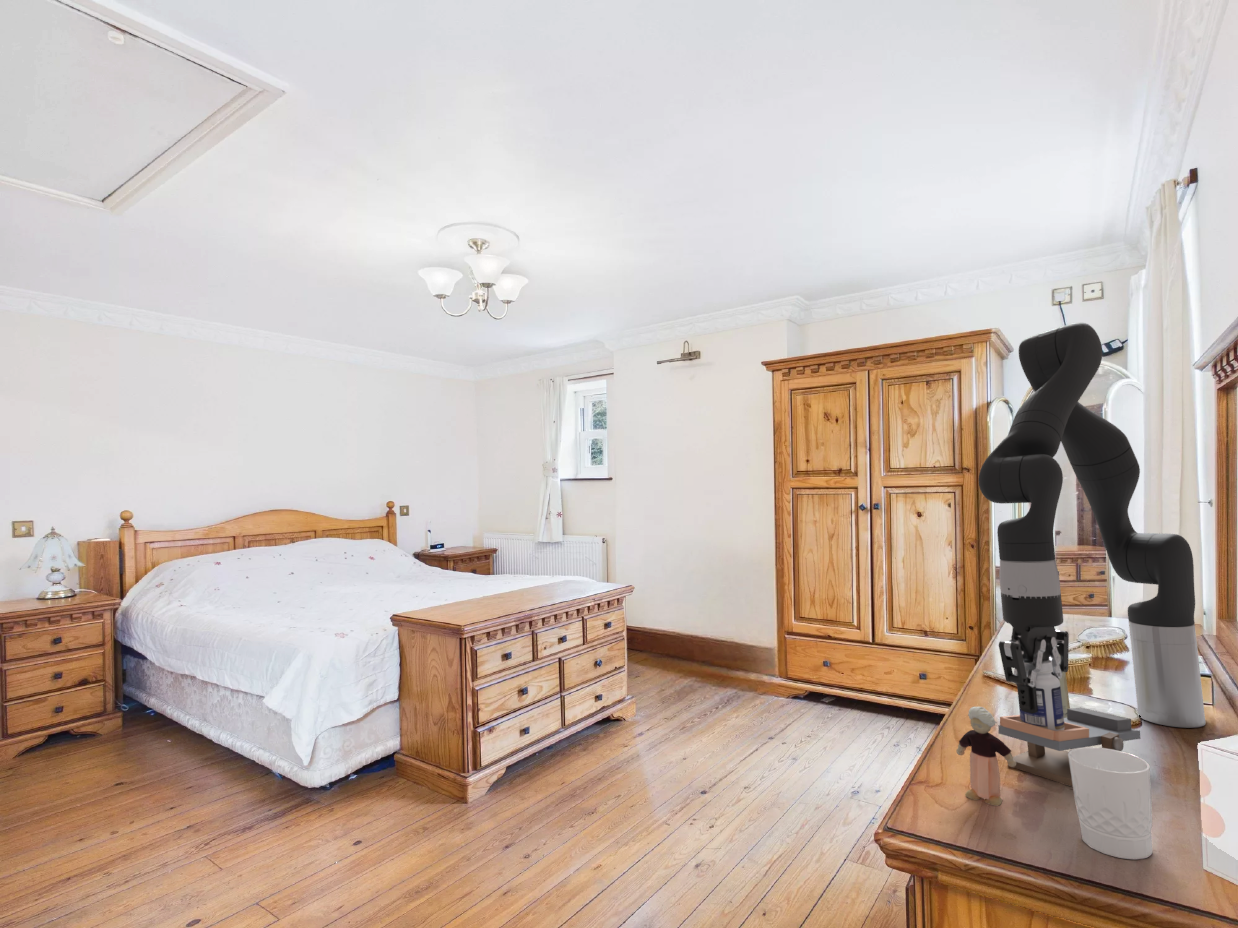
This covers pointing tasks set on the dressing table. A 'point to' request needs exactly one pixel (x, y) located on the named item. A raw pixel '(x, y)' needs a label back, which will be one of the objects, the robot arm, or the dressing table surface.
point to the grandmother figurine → (984, 757)
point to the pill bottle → (1046, 700)
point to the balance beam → (1070, 729)
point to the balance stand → (1056, 759)
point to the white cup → (1113, 801)
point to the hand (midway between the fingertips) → (1040, 707)
